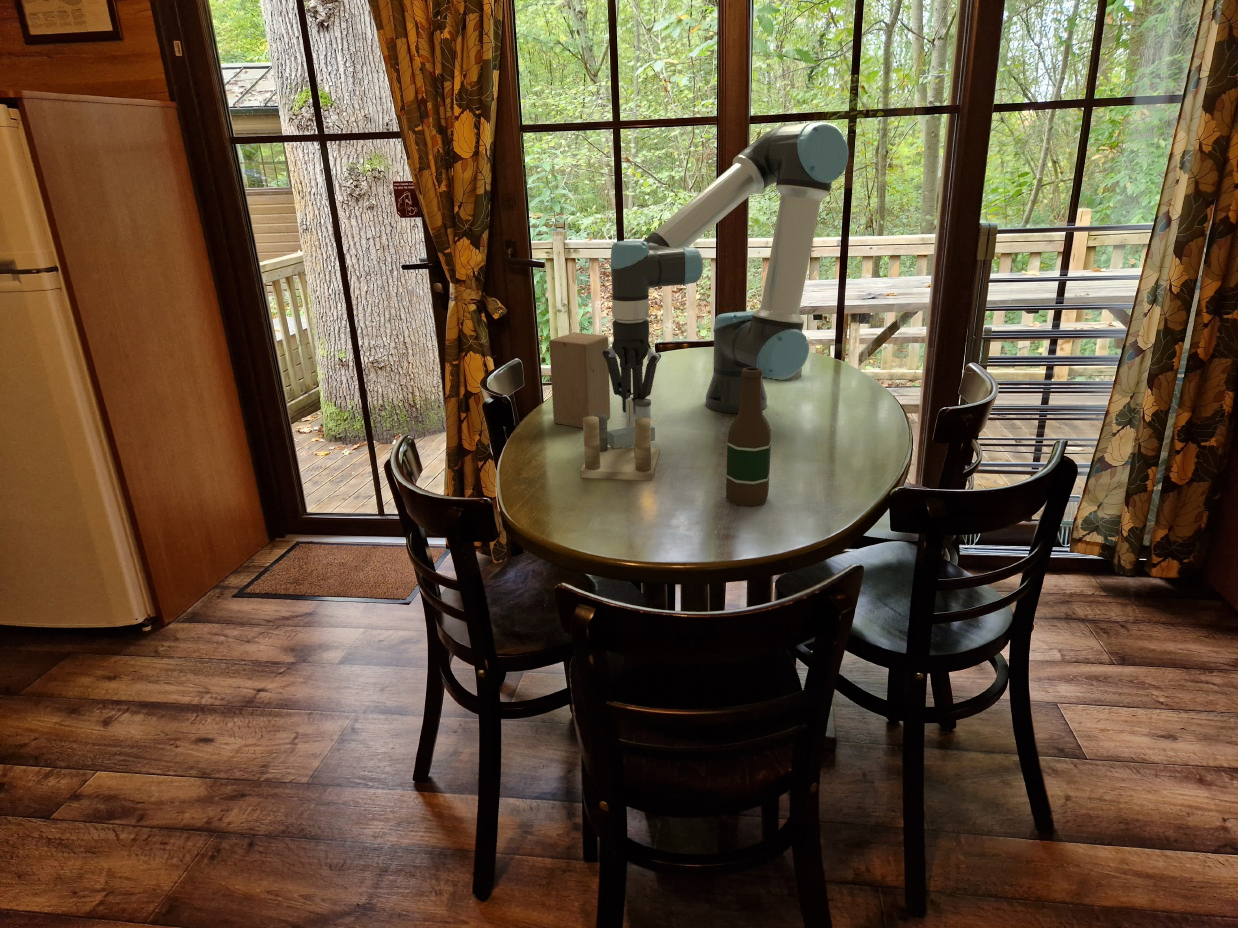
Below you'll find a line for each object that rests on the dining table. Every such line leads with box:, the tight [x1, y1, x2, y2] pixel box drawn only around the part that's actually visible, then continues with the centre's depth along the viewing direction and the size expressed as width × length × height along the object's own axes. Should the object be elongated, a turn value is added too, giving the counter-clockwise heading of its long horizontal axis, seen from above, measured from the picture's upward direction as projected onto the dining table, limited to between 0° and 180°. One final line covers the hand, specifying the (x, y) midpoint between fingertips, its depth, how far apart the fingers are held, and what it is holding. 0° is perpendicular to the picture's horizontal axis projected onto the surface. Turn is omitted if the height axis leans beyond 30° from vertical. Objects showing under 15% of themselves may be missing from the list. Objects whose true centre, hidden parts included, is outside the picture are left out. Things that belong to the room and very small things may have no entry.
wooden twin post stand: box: [580, 414, 661, 481], centre depth 156 cm, size 14×14×12 cm
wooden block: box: [548, 331, 611, 429], centre depth 184 cm, size 10×10×20 cm
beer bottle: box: [725, 367, 772, 508], centre depth 137 cm, size 8×8×24 cm
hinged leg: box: [607, 397, 656, 449], centre depth 164 cm, size 3×10×9 cm, turn 118°
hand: (632, 427), depth 170 cm, fingers closed
